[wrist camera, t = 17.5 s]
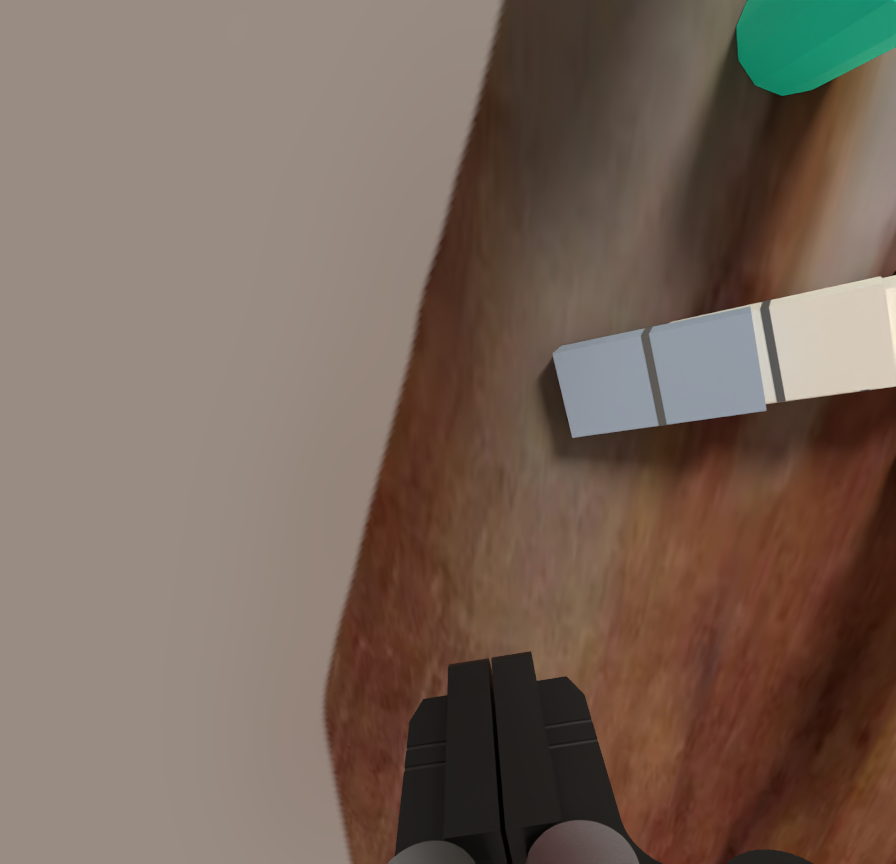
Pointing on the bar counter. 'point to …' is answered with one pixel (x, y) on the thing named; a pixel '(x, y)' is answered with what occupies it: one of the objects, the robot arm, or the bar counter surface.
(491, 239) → the bar counter surface
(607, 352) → the domino
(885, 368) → the domino
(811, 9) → the candle
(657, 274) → the bar counter surface
